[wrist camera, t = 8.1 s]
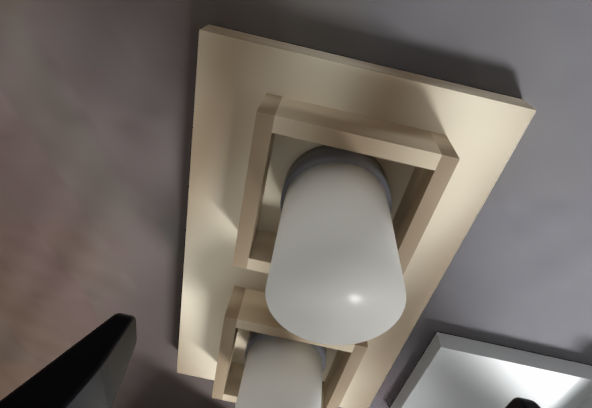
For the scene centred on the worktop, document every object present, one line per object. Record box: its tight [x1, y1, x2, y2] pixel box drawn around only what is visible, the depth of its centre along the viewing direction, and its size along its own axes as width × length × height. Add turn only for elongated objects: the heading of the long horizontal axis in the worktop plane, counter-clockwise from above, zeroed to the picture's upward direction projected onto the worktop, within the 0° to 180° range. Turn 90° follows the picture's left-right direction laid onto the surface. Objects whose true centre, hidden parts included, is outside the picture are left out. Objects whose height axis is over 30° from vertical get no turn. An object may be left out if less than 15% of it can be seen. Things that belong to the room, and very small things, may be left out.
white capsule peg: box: [235, 331, 326, 408], centre depth 19 cm, size 4×4×6 cm
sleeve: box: [265, 145, 406, 345], centre depth 14 cm, size 4×4×6 cm
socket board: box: [177, 24, 536, 408], centre depth 19 cm, size 12×20×3 cm, turn 168°
